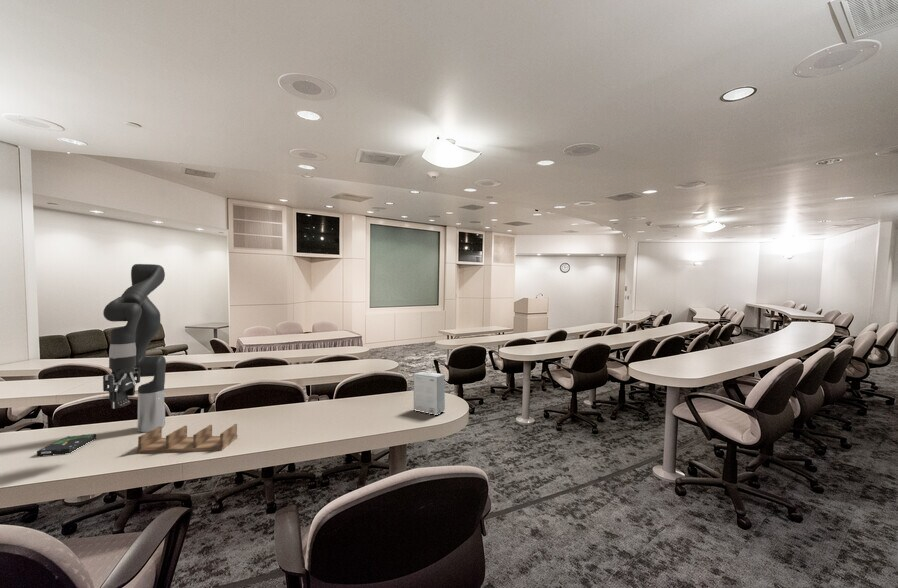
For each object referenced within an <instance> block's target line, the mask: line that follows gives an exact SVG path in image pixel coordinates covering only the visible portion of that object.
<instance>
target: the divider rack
mask: <svg viewBox="0 0 898 588" xmlns="http://www.w3.org/2000/svg"><path fill="white" fill-rule="evenodd" d="M162 431H163V427H162V426H160V427H157V428H155V429H153V430H151V431H149V432H144V433H142V434H141V435H139V436H138V437H137V438H138V439H137V440H138V442H137V443H138V444H137V448H138V449H137V450H136V454H137V453H140V454H160V453H162V452H166V453H185V452H186V451H190V452H189V453H191V451H192V452H209V451H208V450H218V451H223V450H224V449H225V447H226V446H227V445H228V446H230V445H231V444H232V443H233V442H235V441H236V440H237V439H238V438H237V437H238V424H237V423H235V424H233V425H230V427H229V428H227V429H225V430H224V431H223V432H221V433H220V434H219V435H213V424H209V425H207V426H206V427H204V428H202V429H200V430H199V431H197V432H196V433H194V434H193V435H192V436H188V425H184V426H181V427H180V428H178V429H176V430H174V431H172V432H171V433H169V434H167V435H165V437H162V434H163V432H162ZM236 438H237V439H236ZM235 439H236V440H235ZM234 440H235V441H234ZM232 441H233V442H232ZM231 442H232V443H231ZM230 443H231V444H230ZM228 446H227V447H228ZM227 447H226V448H227ZM222 449H223V450H222ZM186 453H187V452H186ZM162 454H163V453H162Z"/></svg>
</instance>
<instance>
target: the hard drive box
mask: <svg viewBox="0 0 898 588" xmlns="http://www.w3.org/2000/svg"><path fill="white" fill-rule="evenodd" d="M445 379H446V377H445V373H444V374H443V373H436V372H428V371H427V372H426V371H420V372H416V373H413V410H414V409H416V410H420V411H424V412H428V413H432V414H436V415H437V414H439V413H441V412H443V411H444V410H445V411H446V405H445V404H446V402H445V401H446V399H445V398H446V397H445V396H446V394H445V393H446V392H445V391H446V390H445V388H446V387H445Z"/></svg>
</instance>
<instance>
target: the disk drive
mask: <svg viewBox="0 0 898 588" xmlns="http://www.w3.org/2000/svg"><path fill="white" fill-rule="evenodd" d="M94 439H95V440H96V439H97V433H91V434H81V435H73V436H72V435H71V436H70V435H68V436H66V437H62V438H61V439H58V440H57V441H55V442H53V443H50V444H47V446H44V447H43V448H40V449H39V450H37V451H36V457H37V456H40V457H44V456H43V455H51V456H54V455H53V454H61V455H66V454H65V453H70V454H72V453H73V452H72V451H74V450H76V449H77V448H79V447H81V446H83V445H85V444H86V443H88V442H90V441H92V440H93V441H95V440H94ZM93 441H92V442H93ZM90 443H91V442H90ZM88 444H89V443H88ZM86 445H87V444H86ZM86 445H85V446H86ZM83 447H84V446H83ZM81 448H82V447H81ZM79 449H80V448H79ZM77 450H78V449H77ZM77 450H76V451H77ZM71 452H72V453H71ZM74 452H75V451H74Z"/></svg>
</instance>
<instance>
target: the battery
mask: <svg viewBox="0 0 898 588" xmlns="http://www.w3.org/2000/svg"><path fill="white" fill-rule="evenodd" d="M118 382H119V380H113V383H118ZM115 386H116V385H113V388H115ZM132 387H133V382H132V380H131V378H130V377H129V376H127V377H126V378H124V379H122V381H121V385H120V386H119V388H118V390H117V391H118V401H116V402H110V403H111V407H110V408H111V409H113V410H115V409H120V408H121V409H122V408H124V407H126V406H128V405H130V404H131V401H130V399H129V396H128V390H129V389H130V388H132Z"/></svg>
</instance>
